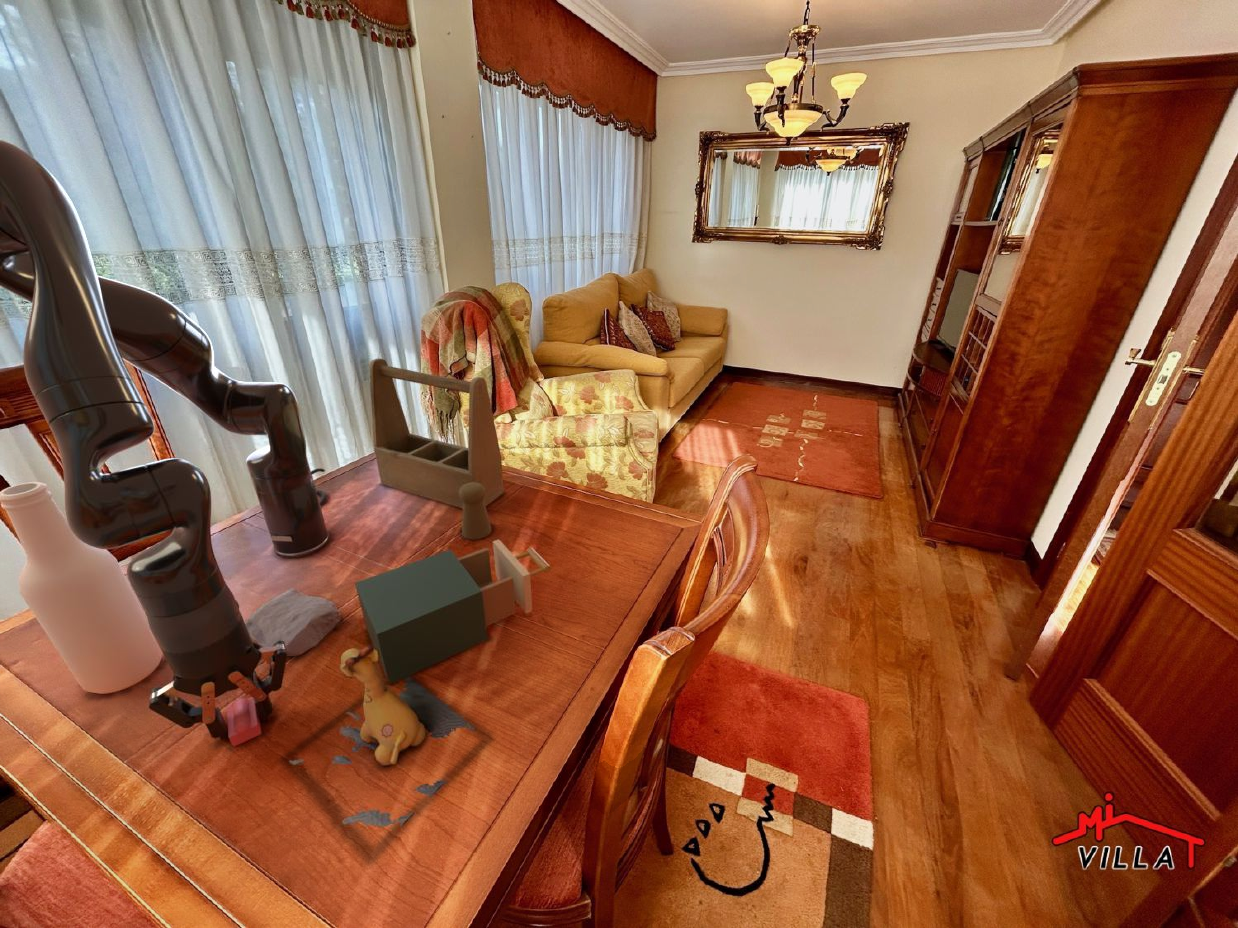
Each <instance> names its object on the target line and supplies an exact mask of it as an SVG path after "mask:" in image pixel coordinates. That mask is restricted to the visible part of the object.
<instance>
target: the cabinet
mask: <svg viewBox="0 0 1238 928" xmlns="http://www.w3.org/2000/svg"><path fill="white" fill-rule="evenodd" d="M457 558H458V557H457V556H456V555H455V553H454V552H453V551H452V549H447V550H444V551H442V552H439V553H436V554H432V555H430V556H427V557H425V558H422V559H419V560H416V561H413V562H410V563H407V564H404V565H402V566H399V567H395V568H393V569H390V570H387V571H385V572H382V573H378V574H376V575H373V576H370V577H367V578H364V579H361V580H358V581H356V582H354V586H355V589H356V593H357V597H358V600H359V601H358V602H359V605H360V608H361V613H362V616H363V620H364V623H365V627H366V632H367V633H368V636H369V638H370V641H371V644H372V647H373V648H375V649H378V651H379V656H380V658H379V661H378V662H379V663H380V666H381V668H382V670H383V673H384V675H385V678H386V681H387V683H388V685H389V686H391V685H393V684H395V683H397V682H400V681H402V680H405V679H407V678H406V677H408V676H409V677H411V676H413V675H415V674H417V673H418V672H422V671H423V670H425V669H427V668H430V667H432V666H434V665H436V664H438V663H440V662H443V661H444V660H446V659H447V660H448V658H449V659H450V658H451V657H453V656H455V655H457V654H459V653H461V652H464V651H465V650H467V649H470V648H472V647H474V646H476V645H478V644H481V643H483V642H484V641H487V640H488V632H487V631H488V630H487V626H486V622H485V613H484V605H483V596H482V591H481V589H480V588H479V587H478V585H477V584H476V583H475V581H474V580H473V579H472V577H471V576H470V575H469V573H468V572H467V571H466V569H465V568H464V567H463V565H462V564H461V563H460V561H459V560H458V559H457Z"/></svg>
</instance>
